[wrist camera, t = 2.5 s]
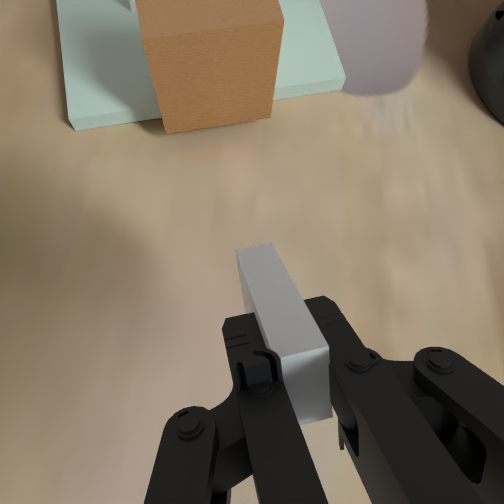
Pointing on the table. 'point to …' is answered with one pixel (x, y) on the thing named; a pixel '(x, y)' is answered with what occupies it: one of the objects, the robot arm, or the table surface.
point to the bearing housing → (137, 69)
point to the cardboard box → (211, 59)
